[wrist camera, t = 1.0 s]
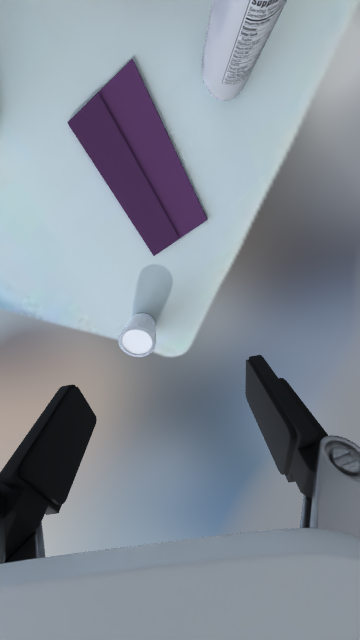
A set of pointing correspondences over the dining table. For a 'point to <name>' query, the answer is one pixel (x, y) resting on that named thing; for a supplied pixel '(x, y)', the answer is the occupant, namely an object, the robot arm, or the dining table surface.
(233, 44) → the energy drink can
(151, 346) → the shot glass
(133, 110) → the napkin
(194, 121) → the dining table surface
